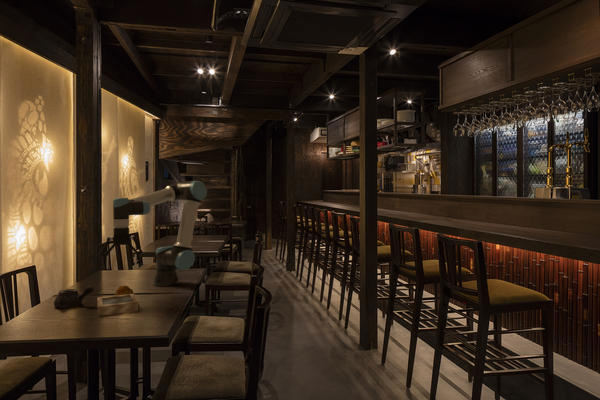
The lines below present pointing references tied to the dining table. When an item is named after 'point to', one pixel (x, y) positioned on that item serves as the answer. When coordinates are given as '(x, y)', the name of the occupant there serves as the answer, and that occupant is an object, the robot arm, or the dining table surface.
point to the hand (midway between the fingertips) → (121, 267)
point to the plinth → (117, 304)
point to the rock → (123, 290)
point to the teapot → (71, 297)
